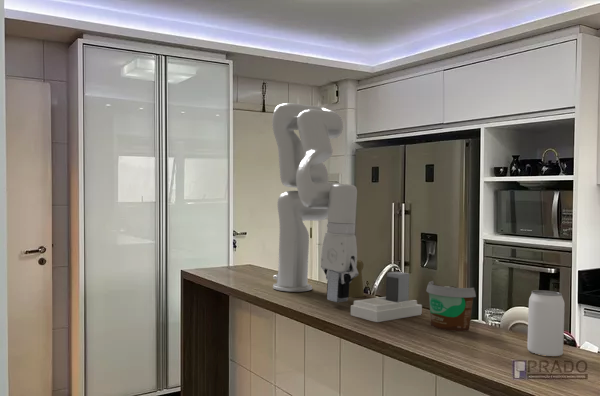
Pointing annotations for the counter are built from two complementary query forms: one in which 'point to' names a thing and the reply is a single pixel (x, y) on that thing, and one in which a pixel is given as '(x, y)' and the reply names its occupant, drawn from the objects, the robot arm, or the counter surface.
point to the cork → (357, 282)
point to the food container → (450, 307)
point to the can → (546, 323)
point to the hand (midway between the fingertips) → (337, 295)
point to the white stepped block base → (389, 301)
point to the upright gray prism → (334, 287)
